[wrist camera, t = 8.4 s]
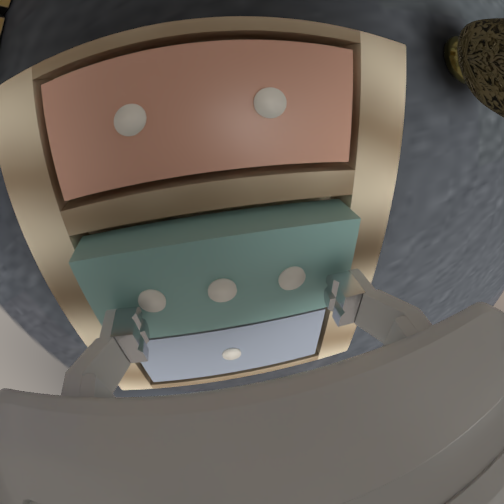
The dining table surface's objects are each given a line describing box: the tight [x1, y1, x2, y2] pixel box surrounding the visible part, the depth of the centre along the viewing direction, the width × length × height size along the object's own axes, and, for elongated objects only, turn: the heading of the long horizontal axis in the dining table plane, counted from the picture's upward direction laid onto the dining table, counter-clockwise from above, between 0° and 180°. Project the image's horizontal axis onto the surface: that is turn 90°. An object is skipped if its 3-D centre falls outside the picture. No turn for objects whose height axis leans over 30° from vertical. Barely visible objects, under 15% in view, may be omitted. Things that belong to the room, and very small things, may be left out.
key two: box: [41, 40, 353, 201], centre depth 9 cm, size 5×12×2 cm, turn 92°
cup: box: [444, 18, 504, 117], centre depth 7 cm, size 8×7×8 cm
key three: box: [68, 199, 361, 338], centre depth 12 cm, size 5×12×2 cm, turn 92°
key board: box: [0, 16, 406, 390], centre depth 14 cm, size 21×18×3 cm
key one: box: [141, 308, 325, 382], centre depth 17 cm, size 5×12×2 cm, turn 92°
